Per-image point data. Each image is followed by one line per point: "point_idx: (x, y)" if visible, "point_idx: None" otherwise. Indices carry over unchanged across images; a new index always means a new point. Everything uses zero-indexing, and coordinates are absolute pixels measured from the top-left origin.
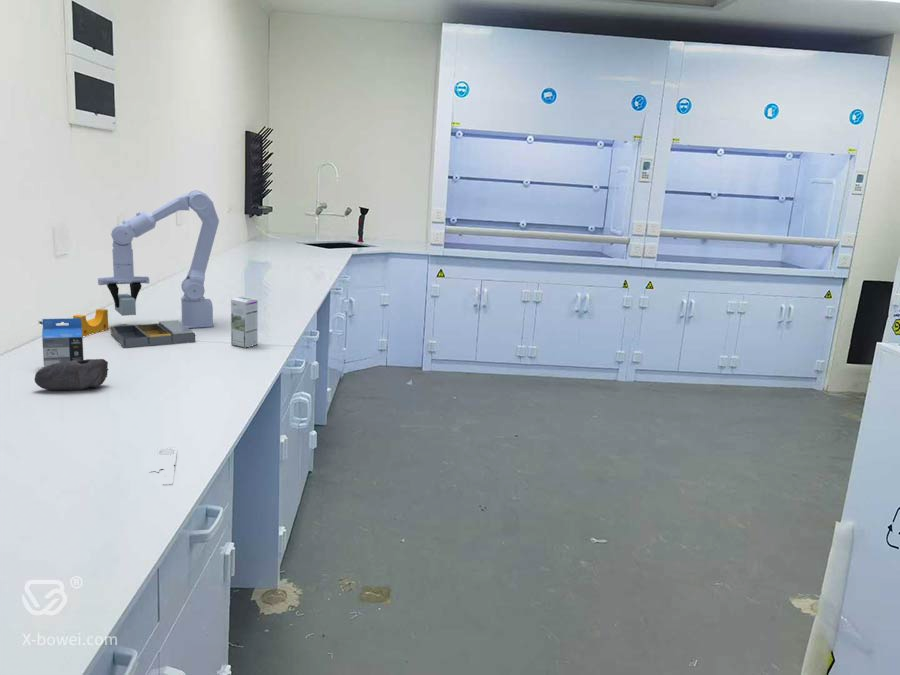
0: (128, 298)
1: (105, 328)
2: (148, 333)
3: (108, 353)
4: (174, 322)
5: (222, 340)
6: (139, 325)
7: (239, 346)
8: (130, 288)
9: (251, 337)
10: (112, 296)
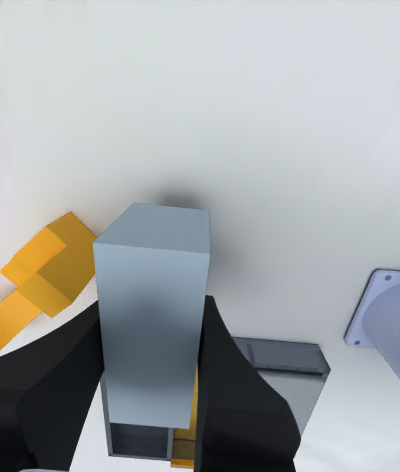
0: (157, 404)
1: None
2: None
3: (80, 446)
4: (297, 402)
5: (342, 451)
6: None
7: None
8: (205, 380)
9: None
10: (69, 322)
